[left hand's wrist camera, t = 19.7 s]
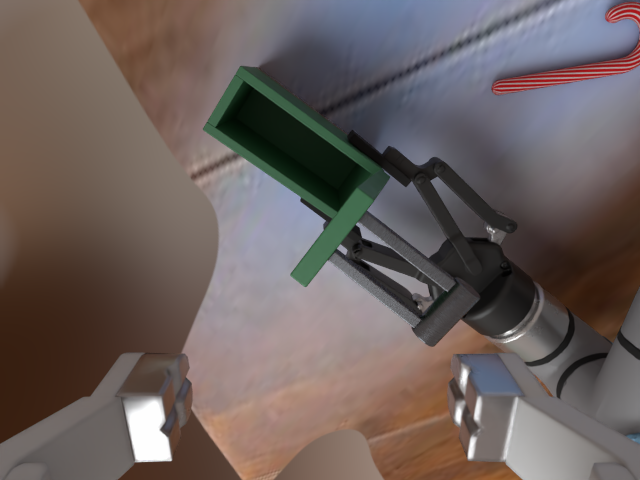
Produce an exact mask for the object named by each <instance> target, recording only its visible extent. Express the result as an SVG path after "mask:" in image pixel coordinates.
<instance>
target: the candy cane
mask: <svg viewBox="0 0 640 480" xmlns="http://www.w3.org/2000/svg"><path fill="white" fill-rule="evenodd" d="M605 19H606V21H608V22H610V23H616V22H618V21H620V20H623V19H630V20H633V21H634V22H635V23H636V24H637V25H638V27H639V31H640V3H638V2H625V3H621V4H618V5H616V6H614V7H612V8H610V9H609V10H608V11H607V12H606V14H605ZM639 65H640V36H639V41H638V44H637V46H636V48H635V49H634V50H633V51H632V52H631V53H630V54H629V55H628V56H626V57H624V58H620V59H614V60H609V61H603V62H597V63H592V64H586V65H580V66H575V67H569V68H564V69H558V70H552V71H547V72H541V73H536V74H530V75H524V76H519V77H513V78H508V79H502V80H497V81H496V82H494V83H493V85H492V92H493V93H494V94H496V95H502V94H508V93H514V92H519V91H525V90H531V89H537V88H542V87H548V86H554V85H559V84H565V83H571V82H576V81H582V80H588V79H593V78H599V77H605V76H611V75H616V74H622V73H625V72H628V71H630V70H633V69H634V68H636V67H638V66H639Z"/></svg>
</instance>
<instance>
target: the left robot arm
mask: <svg viewBox="0 0 640 480" xmlns="http://www.w3.org/2000/svg"><path fill="white" fill-rule="evenodd" d="M450 368H451V371H452V373H453V375H454V378H453V379H452V380H451V381H450V382H449V383H448V393H447V397H448V407H449V412H450V415H451V418H452V421H453V423H454V424H455V425H457V426H458V427H459V428H460V433H459V439H460V442H461V444H462V447H463V449H464V452H465V454H466V457H467V459H468V461H490V462H506V464H507V465H508V466H509V467H510V468H511V469H512V470H513V471H514V472H515V473H516V474H517V475H518V476H519V477H520V478H522V479H523V480H640V444H639V443H637V442H635V441H633V440H631V439H630V438H628V437H626V436H624V435H623V434H621V433H619V432H617V431H616V430H614V429H612V428H610V427H608V426H607V425H605V424H603V423H601V422H600V421H598V420H596V419H594V418H593V417H591V416H589V415H587V414H585V413H584V412H582V411H580V410H578V409H577V408H575V407H573V406H571V405H570V404H568V403H566V402H564V401H562V400H561V399H559V398H557V397H550V396H549V395H548V394H547V392H546V391H545V390H544V388H543V387H542V386H541V384H540V383H539V382H538V380H537V379H536V377H535V376H534V375H533V373H532V372H531V371H530V369H529V368H528V367H527V365H526V364H525V363H524V361H523V360H522V358H521V357H520V356H519V355H518V354H516V353H494V354H454V355H453V357H452V361H451V367H450ZM188 371H189V362H188V357H187V356H186V354H175V353H124V354H122V355H121V356H120V357H119V358H118V359H117V361H116V362H115V364H114V365H113V366H112V368H111V369H110V370H109V372H108V373H107V375H106V376H105V377H104V379H103V380H102V381H101V383H100V384H99V385H98V387H97V388H96V390H95V391H94V392H93V394H92V395H91V396H90V397H83V398H81V399H79V400H77V401H76V402H74V403H72V404H70V405H69V406H67V407H65V408H63V409H62V410H60V411H58V412H56V413H54V414H53V415H51V416H49V417H47V418H46V419H44V420H42V421H40V422H39V423H37V424H35V425H33V426H31V427H30V428H28V429H26V430H24V431H22V432H21V433H19V434H17V435H15V436H14V437H12V438H10V439H8V440H7V441H5V442H3V443H1V444H0V480H118V479H119V478H120V477H121V476H122V475H123V474H124V473H125V472H126V471H127V470H128V469H129V468H130V467H132V466H133V465H134V462H149V461H172V459H173V457H174V454H175V452H176V449H177V447H178V444H179V441H180V439H181V433H180V428H181V427H182V426H183V425H185V424H186V423H187V421H188V418H189V415H190V412H191V406H192V392H193V391H192V383H191V382H190V381H189V380H188V379H187V378H186V375H187V373H188Z"/></svg>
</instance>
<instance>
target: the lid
mask: <svg viewBox="0 0 640 480" xmlns="http://www.w3.org/2000/svg"><path fill="white" fill-rule="evenodd" d="M389 178H390V176H389V175H387V174H386V173H385V172H383V171H382V170H379V171H377V172H376V173H375V174H373V175H372V176H371V177H370V178H368V179H367V180H366V181H364V182H363V183H362V184H360V185H359V186H358V187H357V188H356V189H355V190H354V191H353V193H352V194H351V195H350V197H349V198H348V199H347V201H346V202H345V203H344V205H343V206H342V207H341V208H340V210H339V211H338V212H337V214H336V215H335V216H334V218H333V219H332V220H331V222H330V223H329V224H328V225H327V227H326V228H325V229H324V231H323V232H322V233H321V235H320V236H319V237H318V239H317V240H316V241H315V243H314V244H313V245H312V246H311V248H310V249H309V250H308V252H307V253H306V254H305V256H304V257H303V258H302V260H301V261H300V262H299V263H298V265H297V266H296V267H295V269H294V270H293V271H292V273H291V277H293V278H294V279H295V280H296V281H298V282H299V283H300V284H302V285H303V286H304V287H307V286H308V284H309V283H310V282H311V280H312V279H313V278H314V277H315V275H316V274H317V273H318V272H319V270H320V269H321V268H322V267H323V265H324V264H325V263H326V261H327V260H328V261H329V262H330V263H332V264H333V265H334V266H335V267H337V268H338V269H339V270H341V271H342V272H343V273H344V274H346V275H347V276H348V277H349V278H351V279H352V280H353V281H355V282H356V283H357V284H358V285H360V286H361V287H362V288H364V289H365V290H366V291H367V292H369V293H370V294H371V295H372V296H374V297H375V298H376V299H378V300H379V301H380V302H381V303H383V304H384V305H385V306H386V307H388V308H389V309H390V310H392V311H393V312H394V313H395V314H397V315H398V316H399V317H400V318H402V319H403V320H404V321H406V322H407V323H408V324H409V325H411V326H412V330H413V332H414V333H415V335H416V336H417V337H418V338H419V339H420V340H421V341H422V342H424V343H425V344H427V345H429V346H431V347H433V346H435V345H436V344H437V343H438V342H439V341H440V340H441V339H442V338H443V337H444V336H445V335H446V334H447V333H448V332H449V331H450V329H451V328H452V327H453V326H454V325H455V324H456V323H457V322H458V321H459V320H460V319H461V318H462V317H463V316H464V315H465V314H466V313H467V312H468V311H469V310H470V309H471V308H472V307H473V306H474V305H475V304H476V303H477V302H478V301H479V300H480V295H479V294H478V293H477V292H476V291H475V290H474V289H473V288H472V287H471V286H470V285H469V284H468V283H466V282H465V281H464V280H462V279H460V278H458V277H456V278H455V279H454V278H453V277H452V276H451V275H449V274H448V273H447V272H445V271H444V270H443V269H442V268H440V267H439V266H438V265H436V264H435V263H434V262H433V261H431V260H430V259H429V258H427V257H426V256H425V255H424V254H422V253H421V252H420V251H418V250H417V249H416V248H414V247H413V246H412V245H411V244H409V243H408V242H407V241H405V240H404V239H403V238H402V237H400V236H399V235H398V234H396V233H395V232H394V231H393V230H391V229H390V228H389V227H387V226H386V225H385V224H384V223H382V222H381V221H380V220H378V219H377V218H376V217H375V216H373V215H372V214H371V213H369V212H368V211H367V209H368V208H369V207H370V206H371V204H372V203H373V202H374V200H375V199H376V197H377V196H378V195H379V193H380V192H381V190H382V189H383V187H384V186H385V184H386V183H387V181H388V180H389ZM357 222H358V223H360V224H361V225H362V226H363V227H365V228H366V229H367V230H369V231H370V232H371V233H372V234H374V235H375V236H376V237H378V238H379V239H380V240H381V241H383V242H384V243H385V244H387V245H388V246H389V247H390V248H392V249H393V250H394V251H396V252H397V253H398V254H399V255H401V256H402V257H403V258H405V259H406V260H407V261H408V262H410V263H411V264H412V265H414V266H415V267H416V268H417V269H419V270H420V271H421V272H423V273H424V274H425V275H426V276H428V277H429V278H430V279H432V280H433V281H434V282H435V283H437V284H438V285H439V286H440V287H442V288H443V289H444V291H443V292H442V293H441V294H440V295H439V296H438V297H437V298H436V299H435V300H434V302H433V303H432V304H431V305H430V306H429V307H428V308H427V309H426V310H425V311H424V312H423V313H422V315H421V314H420V313H418V312H417V311H416V310H414V309H413V308H412V307H411V306H409V305H408V304H407V303H405V302H404V301H403V300H402V299H400V298H399V297H398V296H397V295H395V294H394V293H393V292H391V291H390V290H389V289H388V288H386V287H385V286H384V285H382V284H381V283H380V282H379V281H377V280H376V279H375V278H374V277H372V276H371V275H370V274H368V273H367V272H366V271H365V270H363V269H362V268H361V267H359V266H358V265H357V264H356V263H354V262H353V261H352V260H351V259H349V258H348V257H347V256H345V255H344V254H343V253H342V252H340V251H339V250H338V249H337V247H338V246H339V245H340V244H341V242H342V241H343V240H344V239H345V237H346V236H347V235H348V234H349V232H350V231H351V230H352V228H353V227H354V226H355V225H356V223H357Z"/></svg>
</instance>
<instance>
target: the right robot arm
mask: <svg viewBox="0 0 640 480" xmlns="http://www.w3.org/2000/svg"><path fill="white" fill-rule="evenodd" d="M347 138H348V140H349V141H350V142H351V143H352V144H353V145H355V146H356V147H357V148H358V149H360V150H361V151H362V152H363V153H364V154H366V155H367V156H368V157H369V158H371V159H372V160H373V161H374V162H376V163H377V164H378V165H379V166H381V167H382V168H383V169H384V170H385V171H387V172H388V173H389V174H390V175H391V176H393V177H394V178H395V179H396V180H398V181H399V182H400V183H401V184H402V185H404V186H405V187H407V186H408V184H409V183H410V182H411V181H412V182H413V184H414V185H415V187H416V188H417V190H418V192H419V193H420V195H421V197H422V198H423V200H424V201H425V203H426V205H427V206H428V208H429V210H430V211H431V213H432V214H433V216H434V218H435V219H436V221H437V223H438V224H439V226H440V227H441V229H442V231H443V233H444V234H445V236H446V238H447V240H446V241H445V242H444V243H443V244H442V245H441V247H440V249H439V251H438V252H436V253H435V254H433V255H432V256H431V257H430V258H429V259H430V260H431V261H433V262H434V263H435V264H436V265H438V266H439V267H440V268H442V269H443V270H444V271H445V272H447V273H448V274H449V275H451V276H452V277H453V278H454V279H455V278H456V277H458V278H460V279H462V280H464V281H465V282H466V283H468V284H469V285H470V286H471V287H472V288H473V289H474V290H475V291H476V292H477V293H478V294H479V295H480V300H479V301H478V302H477V303H476V304H475V305H474V306H473V307H472V308H471V309H470V310H469V311H468V312H467V313H466V314H465V315H464V316H463V317H462V318H461V320H463V321H464V322H465V323H467V324H468V325H469V326H471V327H472V328H473V329H474V330H476V331H477V332H478V333H480V334H482V335H484V336H485V338H487V339H488V340H489V341H490V342H492V343H493V344H494V345H496V346H497V347H499V348H500V349H501V350H503V351H504V352H505V353H516V354H518V355H519V356H520V357H521V358H522V360H523V361H524V363H525V364H526V365H527V367H528V368H529V369H530V371H531V372H532V373H533V374H534V375H536V376H537V377H538V378H539V379H540V380H541V381H542V382H543V383H544V384H545V385H546V387H547V388H548V389H549V391H550V392H551V393H552V395H553V396H554V397H557V398H559V399H561V400H562V401H564V402H566V403H568V404H570V405H571V406H573V407H575V408H577V409H578V410H580V411H582V412H584V413H585V414H587V415H589V416H591V417H593V418H594V419H596V420H598V421H600V422H601V423H603V424H605V425H607V426H608V427H610V428H612V429H614V430H616V431H617V432H619V433H621V434H623V435H624V436H626V437H628V438H630V439H631V440H633V441H635V442H637V443H639V444H640V287H639V289H638V291H637V293H636V295H635V298H634V300H633V302H632V304H631V307H630V309H629V311H628V313H627V316H626V318H625V320H624V322H623V325H622V326H621V328H620V330H619V332H618V334H617V336H616V339H615V341H614V343H612V342H611V341H609V340H608V339H607V338H605V337H604V336H601V335H600V334H599V333H598V332H596V331H595V330H594V329H593V328H591V327H590V326H589V325H588V324H586V323H585V322H584V321H582V320H581V319H580V318H579V317H577V316H576V315H575V314H573V313H572V312H571V311H570V310H569V309H568V308H567V307H565V305H563V304H562V303H561V302H560V301H559V300H557V299H556V298H555V297H554V296H553V295H551V294H550V293H549V292H548V291H547V290H545V289H544V288H543V287H542V286H541V285H539V284H538V283H536V282H535V281H533V280H532V279H531V277H530V276H528V275H527V274H526V273H525V272H523V271H522V270H521V269H520V268H519V267H517V266H516V265H515V264H514V263H513V262H511V261H510V260H509V259H508V258H506V257H505V256H504V254H503V251H502V248H501V246H500V244H501V243H502V241H503V239H504V238H505V236H506V234H507V233H513V232H514V231H515V230H516V229H517V224H516V222H515V221H513V220H512V219H511V218H509V217H508V216H506V215H505V214H504V213H501V212H499V211H497V210H494V209H492V208H491V207H490V206H489V205H488V204H487V203H486V202H485V201H484V200H483V199H482V198H481V197H480V196H479V195H478V194H477V193H476V192H475V191H474V190H473V189H472V188H471V187H470V186H469V185H468V184H467V183H466V182H465V181H464V180H463V179H461V178H460V177H459V176H458V175H457V174H456V173H455V172H454V171H453V170H452V169H451V168H450V167H449V166H448V165H447V164H446V163H445V162H444V161H442V160H441V159H439V158H437V157H433V158H431V159H430V160H429V161H428V162H427V163H425V164H423V165H420V166H417V165H415V164H413V163H412V162H411V161H410V160H408V159H407V158H406V157H405V156H404V155H402V154H401V153H400V152H399V151H398V150H396V149H395V148H394V147H390V146H388V147H387V149H386V150H385V151H384V152H383V153H382V154H381V153H380V152H378V151H377V150H376V149H375V148H374V147H372V146H371V145H370V144H369V143H368V142H366V141H365V140H364V139H363V138H362V137H360V136H359V135H358V134H357V133H355V132H354V131H353V130H352V131H351V132H350V133H349V134H348V136H347ZM437 176H438V177H439V178H440V179H441V180H442V181H443V182H444V183H445V184H446V185H447V186H448V187H449V188H450V189H451V190H452V191H453V192H454V193H455V194H456V195H457V196H458V197H459V198H460V199H461V200H462V201H464V202H465V203H466V204H467V205H468V206H469V207H470V208H471V209H472V210H473V211H474V212H475V213H476V214H477V215H478V216H479V217H481V218H482V219H483V220H484V224H483V227H484V229H485V230H486V231H487V232H488V238H473V237H464V236H463V234H462V233H461V231H460V230H459V228H458V226H457V225H456V223H455V221H454V220H453V218H452V216H451V215H450V213H449V211H448V210H447V208H446V206H445V205H444V203H443V201H442V200H441V198H440V196H439V195H438V193H437V191H436V190H435V188H434V186H433V185H432V183H431V181H430V180H432V179H434V178H436V177H437ZM300 201H301V202H302V203H303V204H305V205H306V206H307V207H309V208H310V209H311V210H313V211H314V212H315V213H317V214H318V215H319V216H321V217H322V218H323V219H325V220H326V222H325V223H324V224H323V227H324V229H325V228H326V227H327V225H328V224H329V223H330V222H331V220H332V218H331V217H329V216H328V215H326V214H325V213H323V212H322V211H321V210H319V209H318V208H316V207H315V206H313V205H312V204H310V203H309V202H307V201H306V200H304V199H303V198H302V197H301V200H300ZM341 245H342V246H344V247H345V248H346V249H347V250H348V251H347V254H346V255H345V256H347V257H348V258H349V259H351V260H352V261H353V262H354V263H356V264H357V265H358V266H359V267H361V268H362V269H363V270H365V271H366V272H367V273H368V274H370V275H371V276H372V277H374V278H375V279H376V280H377V281H379V282H380V283H381V284H382V285H384V286H385V287H386V288H388V289H389V290H390V291H391V292H393V293H394V294H395V295H397V296H398V297H399V298H400V299H402V300H403V301H404V302H405V303H407V304H408V305H409V306H411V307H412V308H413V309H414V310H416V311H417V312H418V313H420V314H421V315H422V313H423V312H424V311H425V310H426V309H427V308H428V307H429V306H430V305H431V304H432V303H433V302H434V300H435V299H436V298H437V297H438V296H439V295H440V294H441V293H442V292H443V291H444V289H443V288H442V287H440V286H439V285H438V284H437V283H435V282H434V281H433V280H432V279H430V278H429V277H428V276H426V275H425V274H424V273H423V272H421V271H420V270H419V269H417V268H416V267H415V266H414V265H412V264H411V263H410V262H408V261H407V260H406V259H405V258H403V257H402V256H401V255H399V254H398V253H397V252H396V251H394V250H393V249H391V248H388V247H386V246H383V245H380V244H377V243H374V242H372V241H369V240H366V239H363V238H362V236H361V232H360V228H359V227H358V226H356V225H355V226H354V227H353V228H352V230H351V231H350V232H349V234H348V235H347V236H346V237H345V239H344V240H343V241H342V242H341ZM361 259H363V260H366V261H368V262H371V263H374V264H377V265H380V266H383V267H386V268H388V269H391V270H394V271H397V272H400V273H403V274H406V275H408V276H411V277H414V278H416V279H417V280H419V281H420V282H423V283H426V284H428V289H429V293H430V296H429V297H423V296H421V295H420V294H417V293H414V294H413V295H412V294H411V293H410V292H409V291H408V290H407V289H406V288H405V287H403V286H402V285H400V284H398V283H397V282H395V281H394V280H392V279H391V278H389V277H388V276H386V275H384V274H383V273H381V272H380V271H378V270H377V269H375V268H374V267H372V266H370V265H369V264H367V263H366V262H364V261H363V260H361Z"/></svg>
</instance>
